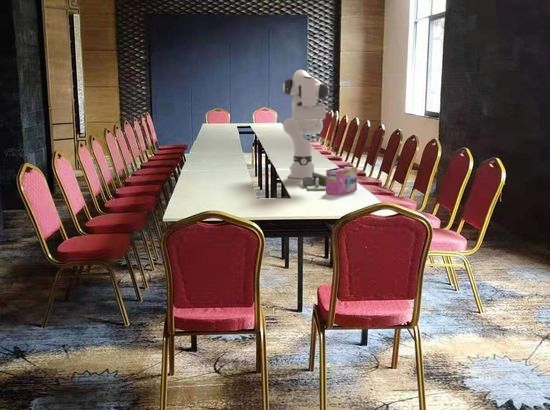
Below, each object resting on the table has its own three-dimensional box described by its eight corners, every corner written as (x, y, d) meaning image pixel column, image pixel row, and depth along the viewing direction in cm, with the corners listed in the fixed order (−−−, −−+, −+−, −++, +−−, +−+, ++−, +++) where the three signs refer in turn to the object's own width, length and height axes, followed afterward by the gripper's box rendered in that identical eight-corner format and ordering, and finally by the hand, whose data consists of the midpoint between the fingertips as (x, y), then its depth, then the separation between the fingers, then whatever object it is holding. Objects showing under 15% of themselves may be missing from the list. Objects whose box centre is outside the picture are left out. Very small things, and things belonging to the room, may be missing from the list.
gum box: (346, 188, 354) (346, 165, 351) (358, 189, 349) (358, 166, 346) (325, 194, 335) (325, 170, 332) (337, 195, 330) (338, 171, 327)
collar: (302, 185, 362) (302, 177, 361) (312, 185, 362) (312, 177, 361) (303, 187, 356) (304, 178, 355) (313, 187, 356) (314, 178, 355)
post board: (306, 188, 352) (306, 177, 351) (333, 188, 353) (333, 177, 352) (308, 190, 344) (308, 180, 343) (335, 190, 346) (336, 179, 344)
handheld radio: (324, 188, 355) (307, 181, 377) (329, 188, 356) (311, 181, 379) (325, 177, 353) (307, 171, 376) (330, 176, 354) (312, 171, 377)
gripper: (325, 104, 361) (325, 127, 362) (291, 104, 359) (291, 127, 361) (326, 103, 355) (326, 126, 356) (292, 103, 353) (292, 126, 354)
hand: (308, 127), depth 358 cm, fingers open, 8 cm apart
